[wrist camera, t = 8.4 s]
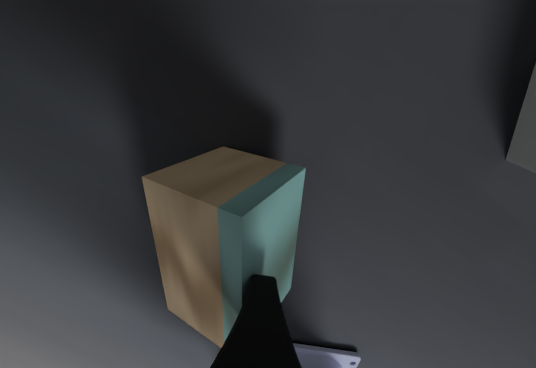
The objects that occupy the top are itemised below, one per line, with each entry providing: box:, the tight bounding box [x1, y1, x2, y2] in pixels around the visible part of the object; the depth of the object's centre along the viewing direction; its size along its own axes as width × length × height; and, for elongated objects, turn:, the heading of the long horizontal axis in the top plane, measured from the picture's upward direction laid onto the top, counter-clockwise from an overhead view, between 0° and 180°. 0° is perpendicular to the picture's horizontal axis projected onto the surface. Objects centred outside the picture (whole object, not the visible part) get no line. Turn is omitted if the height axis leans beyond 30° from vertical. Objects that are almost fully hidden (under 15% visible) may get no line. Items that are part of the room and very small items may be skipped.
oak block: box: [142, 147, 306, 348], centre depth 13 cm, size 8×5×5 cm
